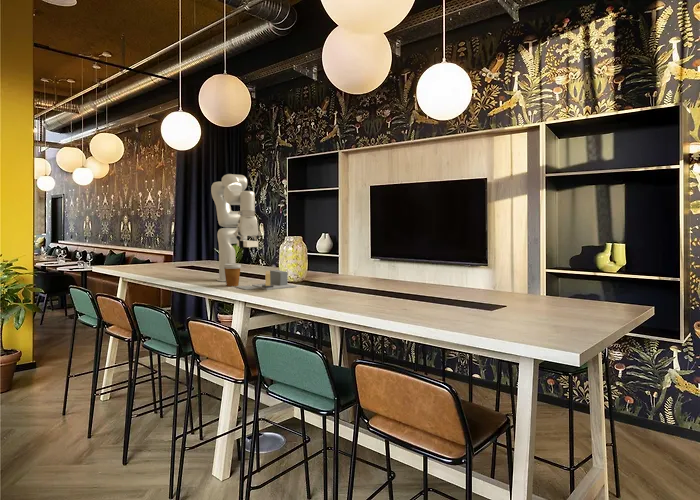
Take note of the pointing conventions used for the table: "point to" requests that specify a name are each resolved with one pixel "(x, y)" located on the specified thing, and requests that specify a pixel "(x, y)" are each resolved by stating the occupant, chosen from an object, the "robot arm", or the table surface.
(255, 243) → the cover
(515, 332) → the table surface
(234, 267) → the disposable coffee cup
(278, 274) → the housing
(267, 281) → the tan rectangular wooden board
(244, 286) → the mat
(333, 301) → the table surface
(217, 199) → the robot arm
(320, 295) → the table surface
